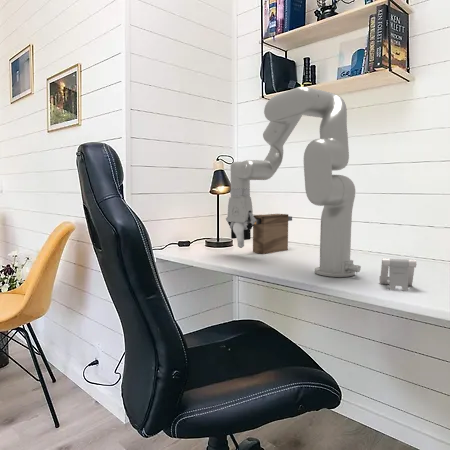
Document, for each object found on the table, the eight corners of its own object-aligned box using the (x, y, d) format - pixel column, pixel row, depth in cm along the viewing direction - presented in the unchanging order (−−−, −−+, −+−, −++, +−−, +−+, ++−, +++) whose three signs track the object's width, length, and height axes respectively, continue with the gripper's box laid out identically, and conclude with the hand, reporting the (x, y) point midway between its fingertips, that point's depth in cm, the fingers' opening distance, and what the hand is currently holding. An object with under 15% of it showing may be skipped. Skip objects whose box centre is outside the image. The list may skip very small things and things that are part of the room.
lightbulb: (229, 247, 171) (229, 220, 170) (241, 246, 174) (241, 219, 174) (239, 249, 166) (239, 220, 165) (252, 247, 169) (252, 220, 169)
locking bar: (292, 220, 191) (292, 216, 191) (254, 224, 174) (254, 219, 174) (287, 220, 193) (287, 216, 192) (250, 223, 176) (250, 219, 176)
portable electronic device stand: (411, 285, 123) (412, 256, 122) (415, 291, 116) (417, 261, 115) (379, 283, 125) (380, 255, 125) (382, 289, 118) (383, 259, 117)
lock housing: (287, 249, 187) (288, 214, 186) (263, 254, 176) (263, 216, 175) (277, 248, 192) (277, 213, 190) (252, 252, 181) (253, 215, 179)
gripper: (218, 193, 172) (219, 238, 173) (249, 193, 160) (250, 241, 161) (231, 193, 177) (232, 236, 179) (263, 193, 165) (263, 239, 166)
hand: (240, 238), depth 170 cm, fingers closed on lightbulb, 6 cm apart
